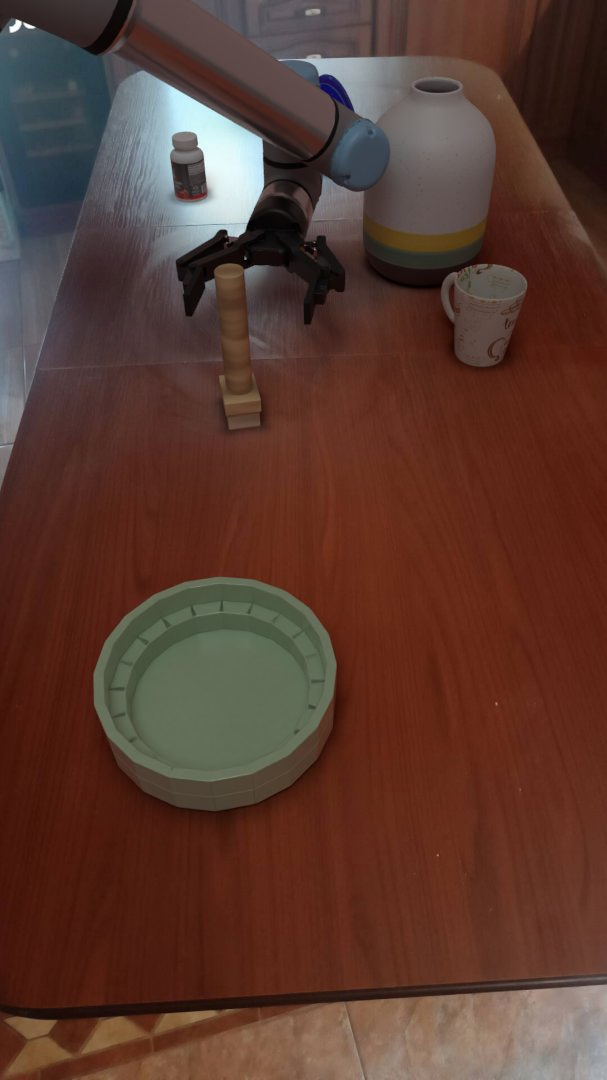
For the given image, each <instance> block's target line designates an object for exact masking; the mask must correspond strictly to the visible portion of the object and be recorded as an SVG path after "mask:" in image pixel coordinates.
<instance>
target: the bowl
mask: <svg viewBox="0 0 607 1080" xmlns="http://www.w3.org/2000/svg"><path fill="white" fill-rule="evenodd" d="M101 648H102V649H101V652H100V653H99V656H98V660H97V663H96V665H95V668H94V670H93V675H92V676H93V678H92V679H93V707H94V709H95V712H96V715H97V717H98V720H99V723H100V726H101V728H102V730H103V733H104V736H105V739H106V741H107V743H108V746H109V748H110V750H111V753H112V755H113V757H114V760H115V761H116V764H117V766H118V767H119V769H120V770H121V771H122V772H123V773H124V774H125V775H126V776H127V777H128V778H129V779H130V780H131V781H132V782H133V783H134V784H135V785H136V786H137V787H138V788H139V789H140V790H141V791H142V792H144V793H146V794H147V795H150V796H152V797H153V798H154V797H155V798H156V799H159V800H160V801H162V802H165V803H167V804H170V805H172V806H173V807H176V808H182V809H190V810H191V809H192V810H199V811H200V810H201V811H211V812H219V811H224V810H225V811H226V810H230V809H234V808H235V809H236V808H241V807H245V806H246V807H247V806H250V805H256V804H258V803H260V802H262V801H264V800H266V799H268V798H269V797H272V796H273V795H275V794H278V793H279V792H281V791H283V790H285V789H286V788H289V787H291V786H292V785H293V784H295V782H296V781H297V780H298V779H299V778H300V777H301V776H302V775H304V773H305V772H307V770H308V769H309V768H310V767H311V766H312V765H314V763H315V762H316V761H317V760H318V759H319V756H320V755H321V753H322V751H323V749H324V746H325V745H326V742H327V741H328V739H329V736H330V734H331V732H332V731H333V728H334V719H335V711H336V710H335V709H336V703H337V677H338V676H337V674H338V663H337V659H336V655H335V652H334V649H333V648H334V647H333V644H332V641H331V637H330V634H329V632H328V631H327V630H326V628H325V627H324V625H323V624H322V622H321V621H320V620H319V618H318V617H317V615H316V614H315V613H314V612H313V610H312V609H311V608H310V607H309V606H308V605H306V604H305V603H304V602H302V601H301V600H300V599H298V598H297V597H295V596H293V594H291V593H289V591H287V590H284V589H282V588H279V587H277V586H274V585H271V584H269V583H265V582H262V581H259V580H256V579H254V578H244V577H243V578H241V577H231V576H229V577H228V576H214V577H206V578H201V579H194V580H187V581H184V582H183V581H182V583H179V584H175V585H173V586H172V587H169V588H166V589H164V590H162V591H159V592H156V593H154V594H153V595H152V596H150V597H148V598H147V599H146V600H144V601H143V602H142V603H140V604H139V605H138V606H136V607H135V608H134V609H132V610H131V611H130V612H128V613H127V614H126V615H124V616H123V618H122V619H121V621H119V623H118V624H117V625H116V626H115V628H114V630H112V632H111V633H110V634H109V635H108V637H107V639H105V641H104V643H103V646H102V647H101Z"/></svg>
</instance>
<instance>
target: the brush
mask: <svg viewBox="0 0 607 1080" xmlns="http://www.w3.org/2000/svg"><path fill="white" fill-rule="evenodd" d="M214 277H215V279H214V285H215V296H216V304H217V305H216V306H217V315H218V324H219V335H220V343H221V354H222V365H223V374H219V375H218V382H219V390H220V394H221V400H222V404H223V409H224V413H225V417H226V422H227V427H228V431H229V430H230V431H231V430H237V429H246V428H253V427H260V426H261V414H260V413H261V412H262V399H261V395H260V391H259V388H258V385H257V384H258V383H257V380H256V375H255V373H254V370H253V371H252V357H251V345H250V342H251V341H250V329H249V319H248V318H249V317H248V305H247V291H246V289H247V288H246V277H245V270H244V268H243V267H242V266H240V265H237V264H223V265H220V266H218V267H217V268H216V269H215V270H214Z"/></svg>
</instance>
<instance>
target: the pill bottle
mask: <svg viewBox="0 0 607 1080" xmlns="http://www.w3.org/2000/svg"><path fill="white" fill-rule="evenodd" d="M171 145H172V147H173V149H172V150H171V151H170V153H169V159H170V160H169V161H170V167H171V175H172V183H173V188H174V189H173V190H174V196H175V197H174V198H175V199H176V200H177V201H178V202H181V203H187V204H193V203H199V202H201V201H202V202H203V201H204V200H206V199H207V198H208V185H207V184H208V183H207V175H206V165H205V154H204V151H203V150H202V149H201V148H200V147H198V146H199V141H198V135H197V133H195V132H193V131H178V132H176V133H173V134H172V136H171Z"/></svg>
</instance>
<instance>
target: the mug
mask: <svg viewBox="0 0 607 1080" xmlns="http://www.w3.org/2000/svg"><path fill="white" fill-rule="evenodd" d="M452 286H453V290H454V291H453V301H454V302H453V307H454V308H453V309H452V306H451V302H450V291H451V288H452ZM527 291H528V281H527V279H526V277H525V276H524V275H522V273H520V271H517V270H516V269H513V268H511V267H509V266H504V265H501V264H494V263H493V264H492V263H480V264H473V265H472V266H470V267H467V268H464V269H463V270H461V271H460V272H459V273H457V272H453V273H451V274H449V275H448V276H447V277H446V278H445V280H444V282H443V283H442V284H441V288H440V299H441V300H440V301H441V304H442V307H443V310H444V312H445V314H446V316H447V317H448V319H449V320H450V321H451V323H452V324H453V325H454V326H453V328H454V329H453V330H454V332H453V334H454V339H453V340H454V345H453V346H454V355H455V357H456V358H457V359H458V360H459V361H460V362H462V363H464V364H466V365H469V366H473V367H478V368H479V367H480V368H482V367H483V368H485V367H491V366H495V365H497V364H498V363H500V362H501V361H503V359H504V356H505V354H506V351H507V348H508V345H509V343H510V340H511V337H512V333H513V331H514V328H515V325H516V322H517V319H518V317H519V313H520V312H521V311H520V310H521V308H522V305H523V303H524V299H525V297H526V294H527Z"/></svg>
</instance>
